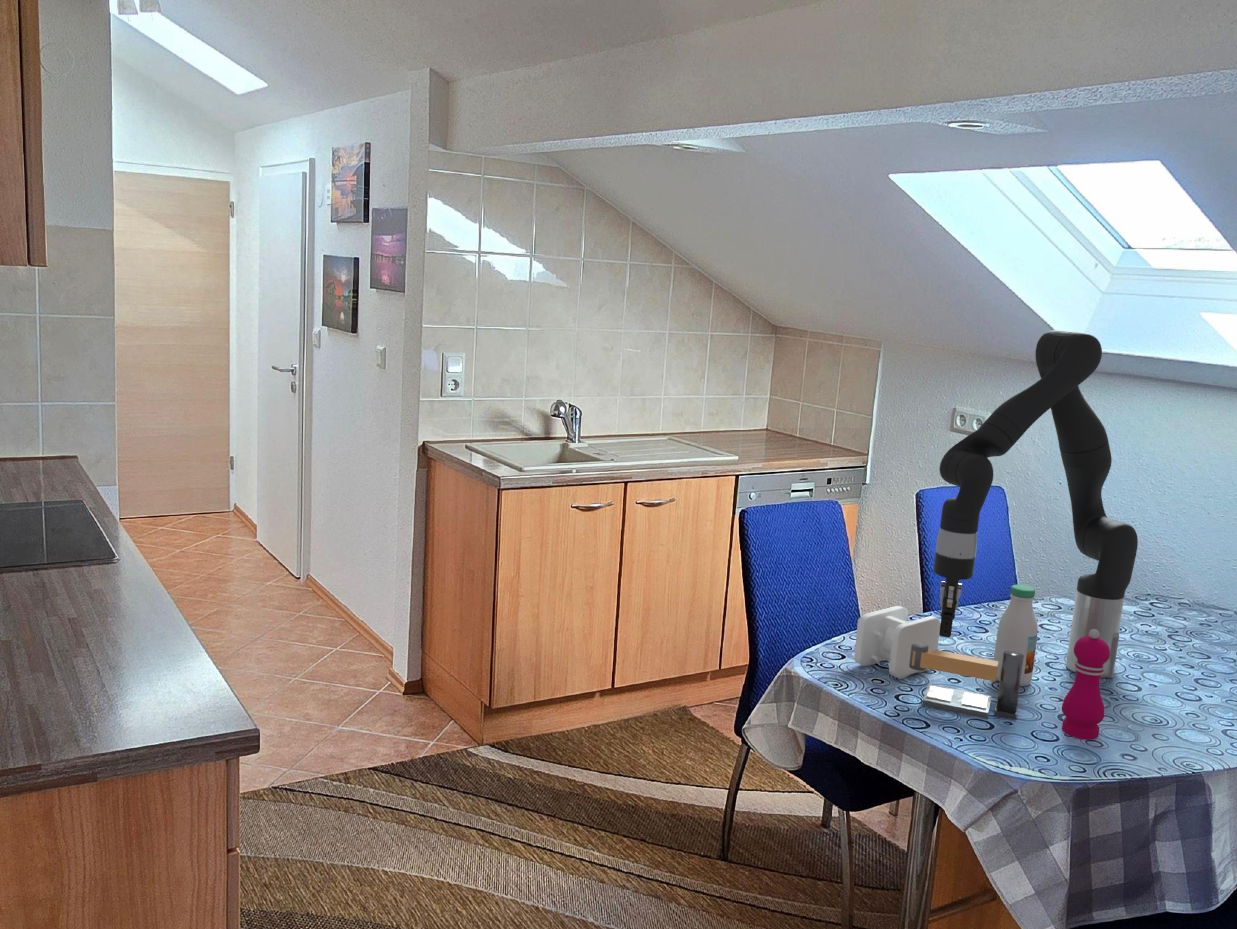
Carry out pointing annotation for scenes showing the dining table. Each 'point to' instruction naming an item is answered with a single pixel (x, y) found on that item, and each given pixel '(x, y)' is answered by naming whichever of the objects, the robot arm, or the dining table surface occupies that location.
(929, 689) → the label plate
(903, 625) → the cable organizer
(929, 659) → the swing bar
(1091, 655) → the pepper mill
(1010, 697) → the post
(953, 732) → the dining table surface
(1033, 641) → the milk bottle
